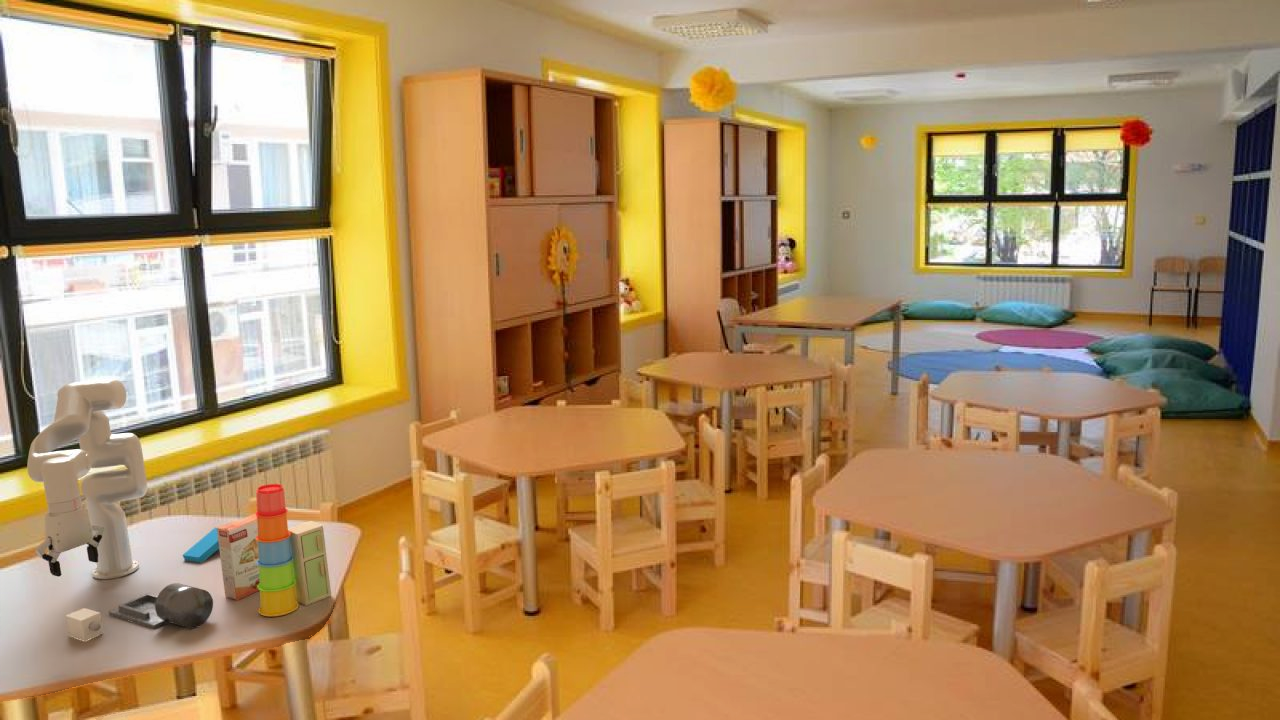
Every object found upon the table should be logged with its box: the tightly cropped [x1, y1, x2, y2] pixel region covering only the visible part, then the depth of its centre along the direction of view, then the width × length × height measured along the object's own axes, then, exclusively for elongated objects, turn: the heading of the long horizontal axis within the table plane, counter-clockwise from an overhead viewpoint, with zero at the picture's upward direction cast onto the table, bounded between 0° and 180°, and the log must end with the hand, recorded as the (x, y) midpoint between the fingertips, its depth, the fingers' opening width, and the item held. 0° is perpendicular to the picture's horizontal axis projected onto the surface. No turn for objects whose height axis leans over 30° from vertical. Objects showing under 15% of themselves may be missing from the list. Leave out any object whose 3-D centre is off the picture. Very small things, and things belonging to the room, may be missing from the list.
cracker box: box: [216, 513, 260, 601], centre depth 275 cm, size 14×6×21 cm, turn 148°
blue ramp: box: [182, 527, 219, 563], centre depth 309 cm, size 7×7×18 cm
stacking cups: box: [254, 483, 300, 617], centre depth 260 cm, size 10×10×35 cm
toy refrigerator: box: [288, 520, 332, 606], centre depth 267 cm, size 8×7×21 cm
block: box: [65, 607, 104, 642], centre depth 253 cm, size 9×5×6 cm, turn 61°
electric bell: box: [108, 582, 214, 630], centre depth 262 cm, size 30×12×10 cm, turn 61°
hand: (75, 568), depth 250 cm, fingers open, 9 cm apart
